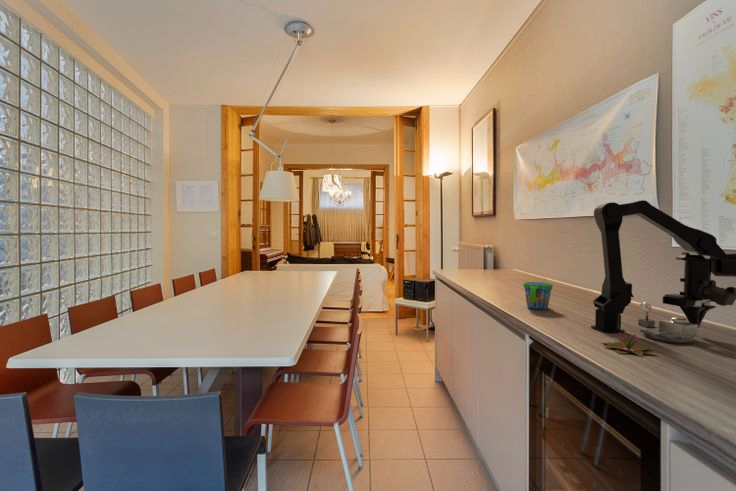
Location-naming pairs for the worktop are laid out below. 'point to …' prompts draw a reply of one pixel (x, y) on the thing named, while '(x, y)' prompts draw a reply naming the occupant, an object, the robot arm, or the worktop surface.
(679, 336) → the turntable
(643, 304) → the dial gauge
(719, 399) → the worktop surface
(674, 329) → the cover
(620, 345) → the lily flower
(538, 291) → the snack cup
